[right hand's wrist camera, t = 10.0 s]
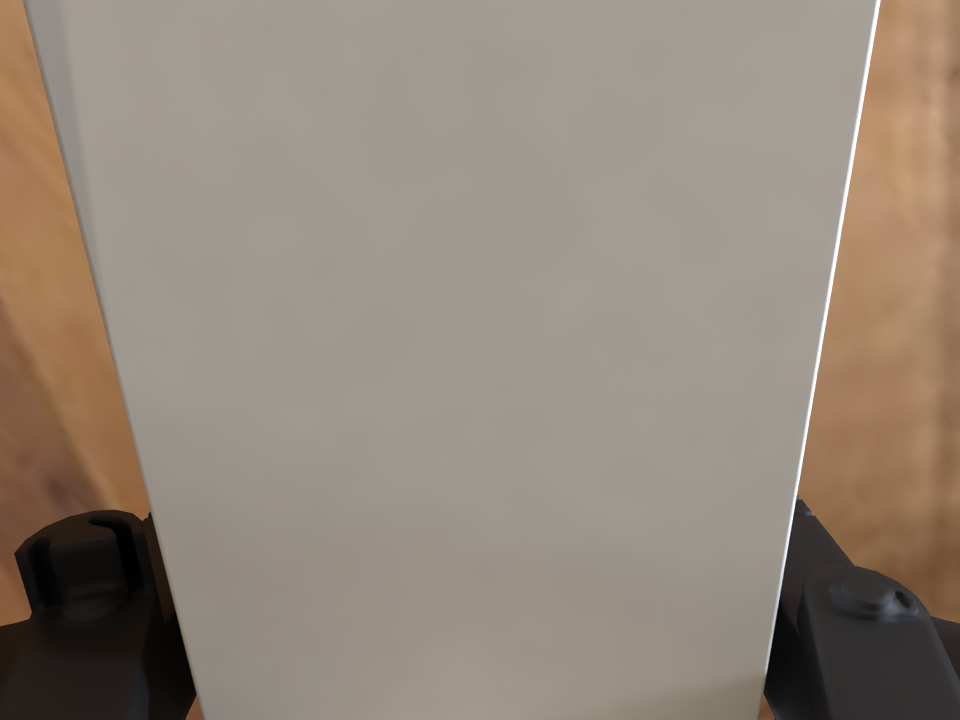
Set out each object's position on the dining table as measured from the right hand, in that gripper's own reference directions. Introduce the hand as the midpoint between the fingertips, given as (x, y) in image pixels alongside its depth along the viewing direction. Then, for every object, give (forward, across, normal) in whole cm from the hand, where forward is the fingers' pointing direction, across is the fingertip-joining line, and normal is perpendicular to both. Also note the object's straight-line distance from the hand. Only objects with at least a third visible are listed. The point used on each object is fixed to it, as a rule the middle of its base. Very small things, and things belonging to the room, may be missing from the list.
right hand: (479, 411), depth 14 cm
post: (+1, +1, -27) cm, 27 cm away
